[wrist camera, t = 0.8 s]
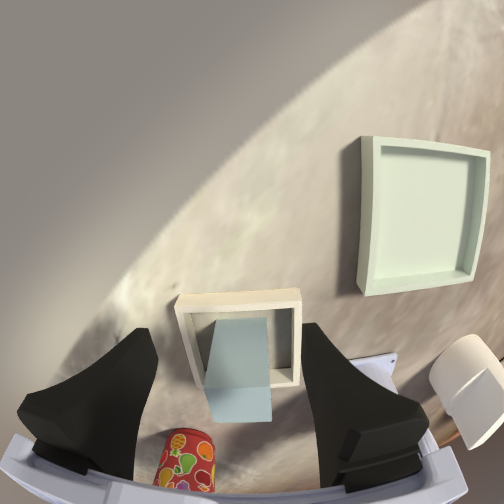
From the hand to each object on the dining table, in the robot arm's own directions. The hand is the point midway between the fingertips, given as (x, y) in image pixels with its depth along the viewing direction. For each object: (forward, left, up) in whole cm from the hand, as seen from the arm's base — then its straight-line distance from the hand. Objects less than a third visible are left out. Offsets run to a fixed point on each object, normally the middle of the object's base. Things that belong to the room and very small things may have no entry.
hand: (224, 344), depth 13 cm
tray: (+3, -16, -10) cm, 19 cm away
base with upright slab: (-17, -27, -11) cm, 34 cm away
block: (-8, 0, -10) cm, 13 cm away
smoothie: (-27, +9, -11) cm, 31 cm away
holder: (-8, 0, -10) cm, 13 cm away
